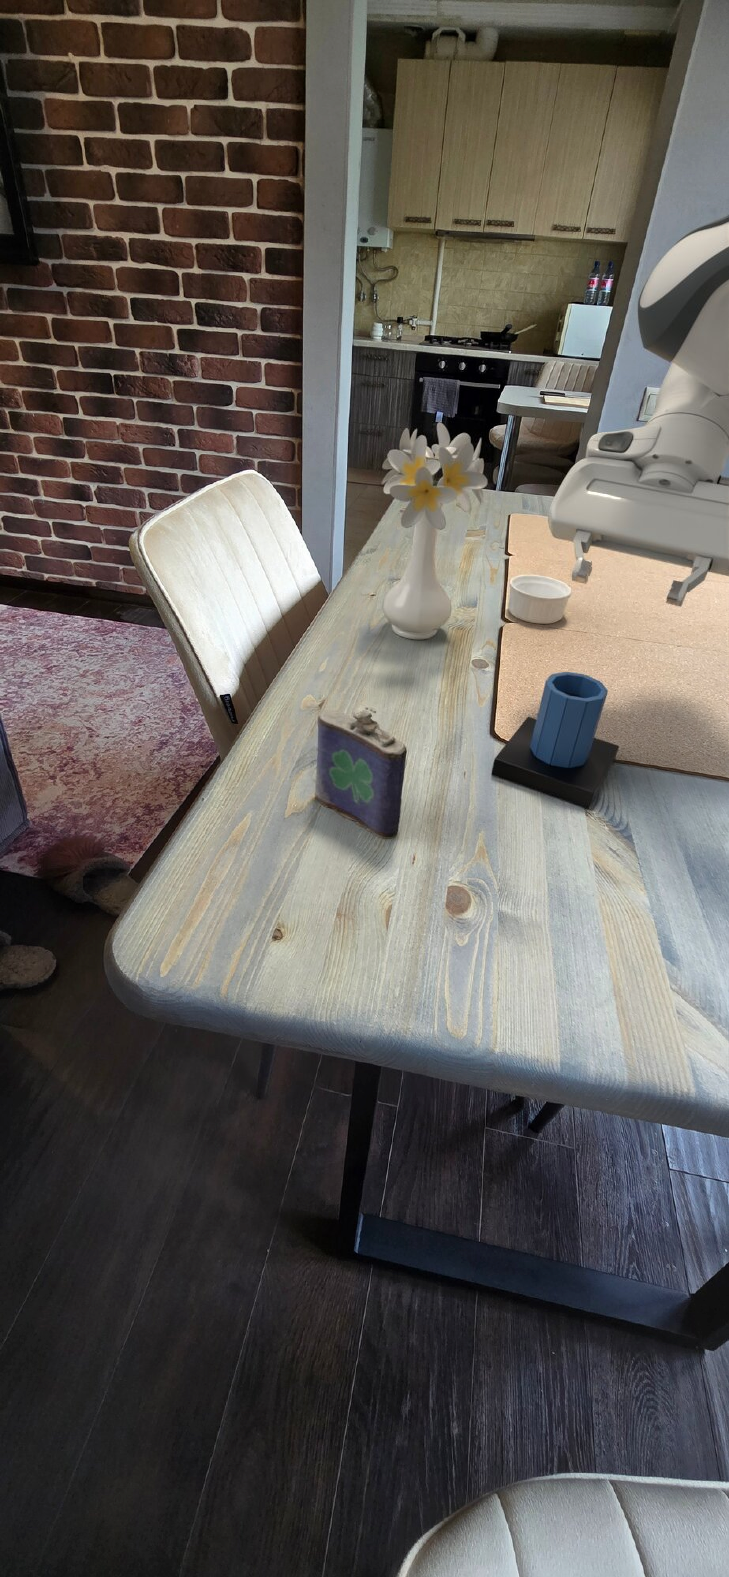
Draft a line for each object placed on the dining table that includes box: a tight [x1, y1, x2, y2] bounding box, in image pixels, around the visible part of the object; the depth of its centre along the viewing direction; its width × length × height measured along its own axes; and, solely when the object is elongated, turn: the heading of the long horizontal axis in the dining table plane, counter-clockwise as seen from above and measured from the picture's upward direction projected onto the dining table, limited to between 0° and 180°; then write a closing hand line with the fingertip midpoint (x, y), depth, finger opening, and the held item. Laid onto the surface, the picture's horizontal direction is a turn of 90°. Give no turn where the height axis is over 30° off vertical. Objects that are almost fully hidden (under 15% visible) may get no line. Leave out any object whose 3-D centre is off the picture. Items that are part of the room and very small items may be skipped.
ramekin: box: [507, 574, 573, 625], centre depth 107 cm, size 9×9×4 cm
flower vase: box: [381, 422, 488, 641], centre depth 93 cm, size 13×18×25 cm
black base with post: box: [491, 693, 620, 810], centre depth 73 cm, size 10×10×8 cm
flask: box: [314, 706, 408, 840], centre depth 64 cm, size 9×3×11 cm, turn 50°
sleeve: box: [530, 671, 609, 768], centre depth 72 cm, size 6×6×8 cm
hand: (625, 591), depth 73 cm, fingers open, 8 cm apart
